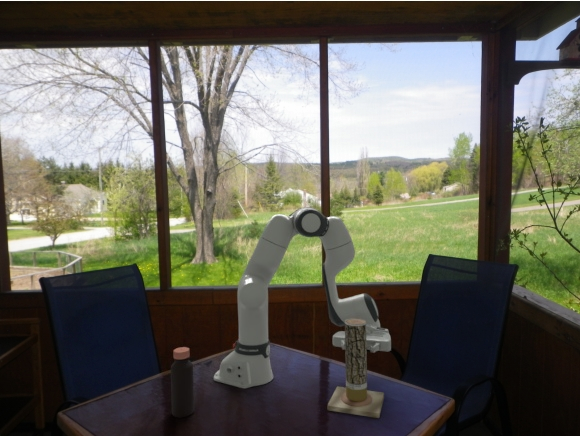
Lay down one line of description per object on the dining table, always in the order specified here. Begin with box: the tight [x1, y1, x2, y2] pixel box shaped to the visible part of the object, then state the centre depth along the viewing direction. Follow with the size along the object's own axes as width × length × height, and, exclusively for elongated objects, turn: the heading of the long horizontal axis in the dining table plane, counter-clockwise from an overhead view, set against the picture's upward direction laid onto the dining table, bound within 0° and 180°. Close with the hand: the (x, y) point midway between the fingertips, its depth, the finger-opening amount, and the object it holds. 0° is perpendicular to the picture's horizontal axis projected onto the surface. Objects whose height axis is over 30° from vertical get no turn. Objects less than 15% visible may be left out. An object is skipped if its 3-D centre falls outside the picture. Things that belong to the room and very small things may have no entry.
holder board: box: [326, 386, 385, 419], centre depth 129 cm, size 16×14×2 cm
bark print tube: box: [344, 319, 368, 402], centre depth 129 cm, size 7×7×25 cm
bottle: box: [170, 346, 195, 419], centre depth 125 cm, size 7×7×20 cm
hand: (358, 348), depth 133 cm, fingers open, 8 cm apart
